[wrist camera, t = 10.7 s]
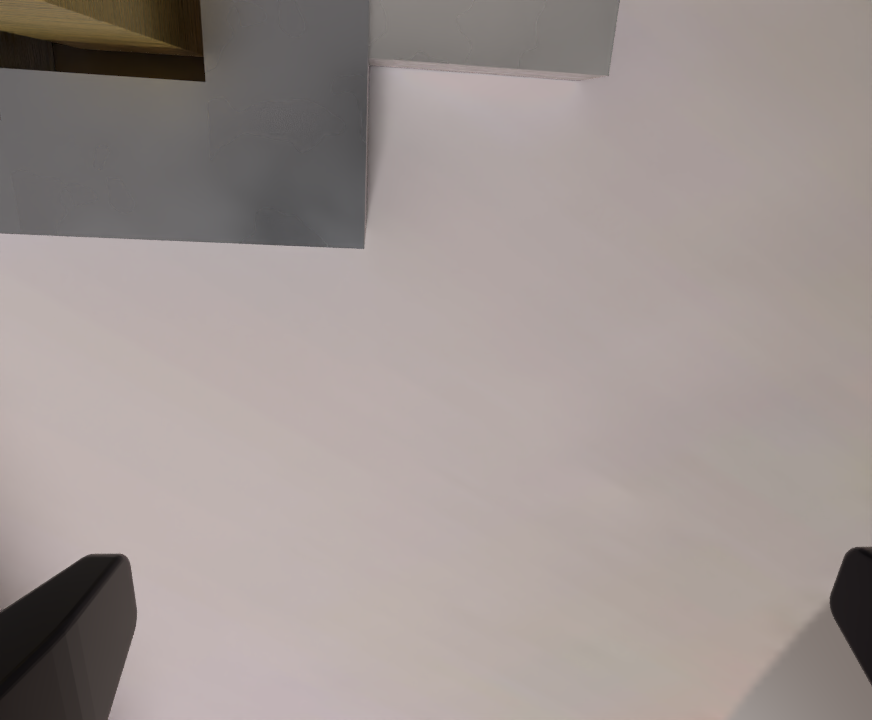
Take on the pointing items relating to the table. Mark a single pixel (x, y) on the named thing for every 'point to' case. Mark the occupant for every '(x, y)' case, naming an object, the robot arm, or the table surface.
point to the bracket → (255, 116)
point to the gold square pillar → (109, 24)
